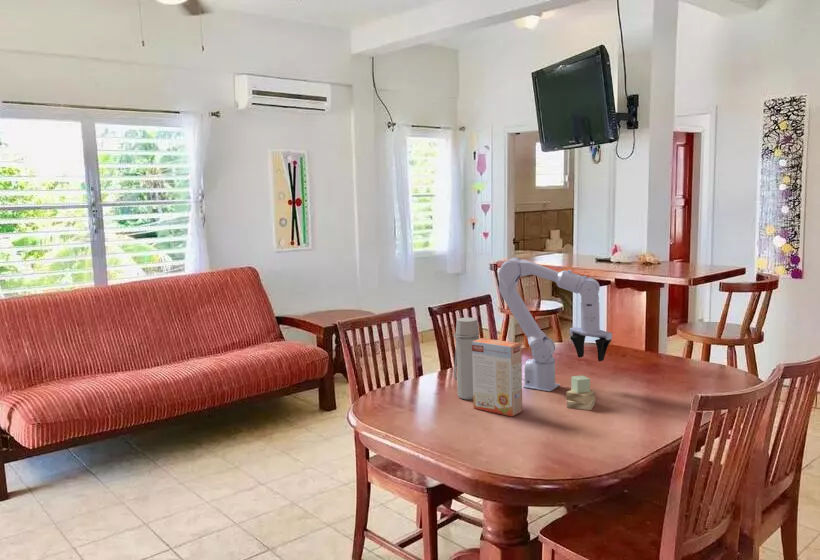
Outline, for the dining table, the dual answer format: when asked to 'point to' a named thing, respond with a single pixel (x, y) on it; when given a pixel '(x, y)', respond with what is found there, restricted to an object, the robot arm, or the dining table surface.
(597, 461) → the dining table surface
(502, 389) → the cracker box
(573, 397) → the beech slab top
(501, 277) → the robot arm
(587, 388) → the sage cube
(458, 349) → the water bottle
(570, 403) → the beech slab bottom
